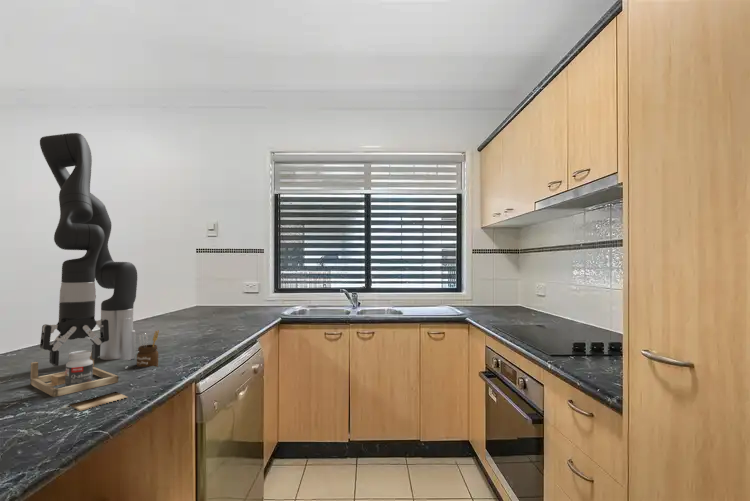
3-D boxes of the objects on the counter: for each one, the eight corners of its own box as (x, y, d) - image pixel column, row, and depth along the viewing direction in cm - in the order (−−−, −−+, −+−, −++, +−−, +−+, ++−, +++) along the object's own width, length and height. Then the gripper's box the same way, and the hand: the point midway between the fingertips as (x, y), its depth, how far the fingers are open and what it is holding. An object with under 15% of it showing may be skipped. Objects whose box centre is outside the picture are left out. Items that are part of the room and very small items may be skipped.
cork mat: (109, 390, 103) (109, 389, 103) (127, 398, 97) (127, 396, 97) (62, 401, 94) (62, 400, 94) (79, 411, 89) (79, 409, 89)
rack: (92, 376, 115) (92, 352, 115) (118, 387, 105) (118, 361, 106) (30, 389, 103) (30, 362, 103) (53, 402, 94) (54, 373, 94)
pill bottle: (70, 395, 99) (71, 356, 99) (61, 391, 102) (61, 353, 102) (96, 389, 104) (97, 351, 104) (86, 385, 107) (87, 348, 107)
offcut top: (80, 376, 110) (80, 368, 110) (87, 377, 109) (87, 370, 109) (51, 383, 104) (51, 375, 104) (57, 384, 103) (57, 377, 103)
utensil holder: (146, 365, 127) (147, 328, 127) (163, 366, 126) (164, 329, 126) (131, 370, 121) (132, 331, 121) (149, 371, 120) (150, 332, 120)
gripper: (102, 297, 111) (100, 355, 110) (38, 300, 99) (35, 365, 99) (114, 298, 107) (112, 359, 106) (48, 302, 95) (45, 370, 94)
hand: (75, 362), depth 102 cm, fingers open, 8 cm apart
